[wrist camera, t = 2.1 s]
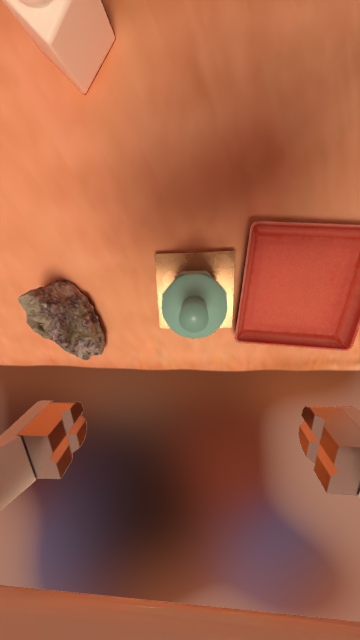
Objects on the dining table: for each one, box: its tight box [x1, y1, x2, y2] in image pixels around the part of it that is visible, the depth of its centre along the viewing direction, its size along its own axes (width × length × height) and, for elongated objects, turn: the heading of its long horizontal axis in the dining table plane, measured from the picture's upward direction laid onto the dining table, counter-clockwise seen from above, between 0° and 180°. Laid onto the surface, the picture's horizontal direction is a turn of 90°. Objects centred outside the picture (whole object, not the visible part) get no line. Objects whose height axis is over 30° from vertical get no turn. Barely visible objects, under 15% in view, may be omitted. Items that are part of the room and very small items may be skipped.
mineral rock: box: [18, 280, 105, 360], centre depth 32 cm, size 13×11×10 cm
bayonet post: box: [155, 251, 235, 328], centre depth 28 cm, size 12×12×10 cm
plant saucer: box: [235, 221, 360, 351], centre depth 31 cm, size 18×18×3 cm
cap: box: [162, 270, 228, 338], centre depth 23 cm, size 7×7×9 cm
